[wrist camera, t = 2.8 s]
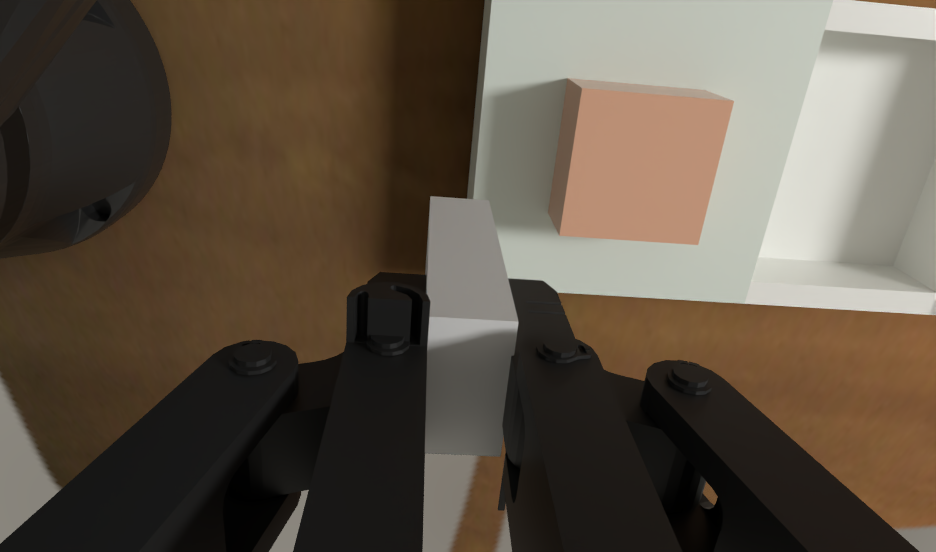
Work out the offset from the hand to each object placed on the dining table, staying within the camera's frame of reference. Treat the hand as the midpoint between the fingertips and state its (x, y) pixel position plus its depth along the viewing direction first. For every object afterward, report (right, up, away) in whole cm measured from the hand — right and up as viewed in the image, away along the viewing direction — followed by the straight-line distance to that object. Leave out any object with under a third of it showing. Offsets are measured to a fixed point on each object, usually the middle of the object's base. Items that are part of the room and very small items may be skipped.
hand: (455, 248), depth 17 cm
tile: (+7, +5, +12) cm, 15 cm away
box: (+20, +6, +17) cm, 27 cm away
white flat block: (+8, +6, +16) cm, 18 cm away
